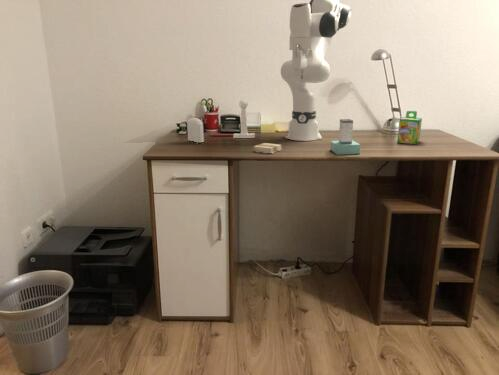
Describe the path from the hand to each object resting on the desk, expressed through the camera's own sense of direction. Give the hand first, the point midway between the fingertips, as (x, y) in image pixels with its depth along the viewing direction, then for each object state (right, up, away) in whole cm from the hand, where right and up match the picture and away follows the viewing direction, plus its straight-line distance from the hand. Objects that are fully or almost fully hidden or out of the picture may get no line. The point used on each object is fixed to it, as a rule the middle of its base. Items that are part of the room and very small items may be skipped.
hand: (299, 79), depth 180 cm
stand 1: (-13, -29, +13) cm, 34 cm away
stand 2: (+21, -30, +8) cm, 37 cm away
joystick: (-24, -19, +45) cm, 55 cm away
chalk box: (+56, -24, +26) cm, 66 cm away
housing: (+21, -26, +7) cm, 34 cm away
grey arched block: (-48, -23, +35) cm, 64 cm away
